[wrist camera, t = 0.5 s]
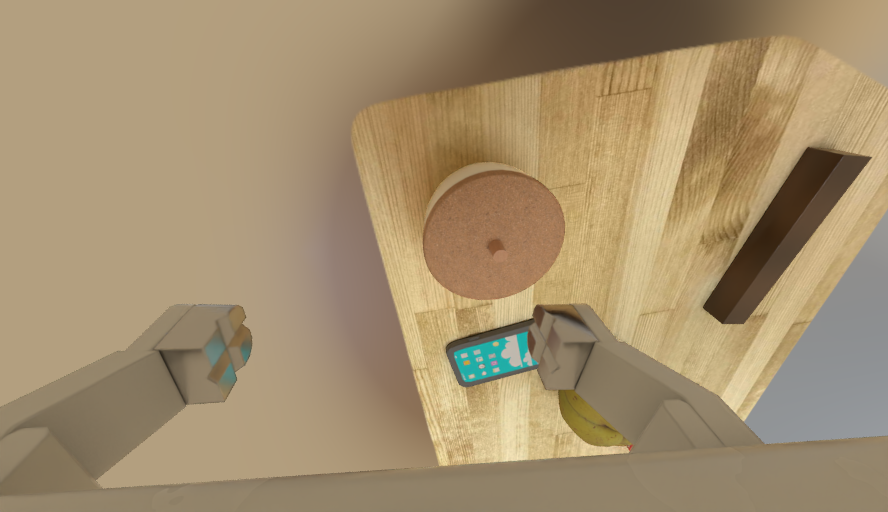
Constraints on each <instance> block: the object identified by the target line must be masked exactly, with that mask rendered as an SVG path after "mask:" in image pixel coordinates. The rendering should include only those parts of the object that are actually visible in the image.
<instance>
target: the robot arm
mask: <svg viewBox="0 0 888 512" xmlns="http://www.w3.org/2000/svg"><path fill="white" fill-rule="evenodd" d="M532 316H533V318H534V320H535V322H534V323H533V324H532V325H531V326H529V329H528V334H527V345H528V350H529V353H530V355H531V358H532V359H533V360H535V361H536V362H537V363H539V366H538V369H537V371H538V374H539V376H540V378H541V380H542V382H543V385H544V387H545V389H546V390H575V392H576V393H577V394H578V395H579V396H580V397H581V398H583V399H584V400H585V401H586V402H587V403H588V404H589V405H590V406H591V407H592V408H593V409H594V410H596V411H597V412H598V413H599V414H600V415H601V416H602V417H603V418H604V419H605V420H606V421H608V422H609V423H610V424H611V425H612V426H613V427H614V428H615V429H616V430H617V431H618V432H620V433H621V434H622V435H623V436H624V437H625V438H626V439H627V440H628V441H629V442H630V443H632V444H633V445H634V446H633V447H632V449H631V451H630V452H629V453H626V454H611V455H596V456H581V457H566V458H551V459H537V460H522V461H508V462H493V463H478V464H464V465H449V466H435V467H420V468H405V469H391V470H376V471H360V472H345V473H331V474H316V475H301V476H286V477H271V478H256V479H242V480H227V481H213V482H197V483H182V484H168V485H152V486H137V487H122V488H107V489H103V488H102V487H101V486H100V485H99V484H98V482H97V481H96V480H97V479H98V478H99V477H100V476H102V475H103V474H104V473H105V472H106V471H108V470H109V469H110V468H111V467H113V466H114V465H115V464H116V463H117V462H119V461H120V460H121V459H122V458H124V457H125V456H126V455H127V454H129V453H130V452H131V451H132V450H133V449H135V448H136V447H137V446H138V445H139V444H141V443H142V442H143V441H145V440H146V439H147V438H148V437H149V436H151V435H152V434H153V433H154V432H156V431H157V430H158V429H159V428H161V427H162V426H163V425H164V424H165V423H167V422H168V421H169V420H170V419H172V418H173V417H174V416H175V415H177V414H178V413H179V412H180V411H181V410H183V409H184V408H185V407H186V405H187V404H204V403H219V402H225V400H226V399H227V397H228V395H229V393H230V391H231V390H232V388H233V386H234V384H235V383H236V381H237V377H236V374H235V372H236V371H238V370H239V369H240V368H242V367H243V366H245V364H246V362H247V360H248V359H249V357H250V353H251V349H252V336H251V332H250V330H249V329H248V328H247V327H245V326H244V325H243V324H242V323H243V321H244V320H245V318H246V315H245V312H244V309H243V307H241V306H239V305H207V304H203V305H202V304H198V305H193V304H177V305H174V306H171V307H169V308H168V309H167V310H166V311H165V312H164V313H163V314H162V315H161V316H160V317H159V318H158V319H157V320H156V321H155V322H154V323H153V324H152V325H151V326H150V327H149V328H148V329H147V330H146V331H145V332H144V333H143V334H142V335H141V336H140V337H139V338H138V339H137V340H136V341H134V343H133V344H131V345H130V346H129V347H128V349H126V350H125V351H117V352H114V353H112V354H110V355H108V356H106V357H104V358H102V359H100V360H98V361H96V362H93V363H91V364H89V365H87V366H85V367H83V368H81V369H79V370H77V371H75V372H73V373H70V374H68V375H66V376H64V377H62V378H60V379H58V380H56V381H54V382H52V383H50V384H48V385H45V386H43V387H41V388H39V389H37V390H35V391H33V392H31V393H29V394H27V395H25V396H23V397H20V398H18V399H16V400H14V401H12V402H10V403H8V404H6V405H4V406H2V407H0V512H888V436H877V437H863V438H848V439H835V440H819V441H806V442H789V443H775V444H764V443H763V442H762V441H761V440H760V439H759V438H758V436H757V435H756V434H755V433H754V432H753V431H752V430H751V429H750V428H749V427H748V426H747V425H746V424H745V423H744V422H743V421H742V420H741V419H740V418H739V417H738V416H737V415H736V414H735V413H734V412H733V411H732V409H731V408H730V407H729V406H728V405H727V404H726V403H725V402H724V401H723V400H722V399H721V398H720V397H719V396H718V395H716V394H714V393H712V392H711V391H709V390H707V389H705V388H704V387H702V386H700V385H698V384H697V383H695V382H693V381H691V380H690V379H688V378H686V377H684V376H683V375H681V374H679V373H677V372H675V371H674V370H672V369H670V368H668V367H667V366H665V365H663V364H661V363H660V362H658V361H656V360H654V359H653V358H651V357H649V356H647V355H646V354H644V353H642V352H640V351H639V350H637V349H635V348H633V347H632V346H630V345H628V344H626V343H625V342H618V341H617V340H616V338H615V337H614V336H613V334H612V333H611V332H610V331H609V329H608V328H607V327H606V326H605V324H604V323H603V322H602V321H601V319H600V318H599V317H598V316H597V314H596V313H595V312H594V311H593V309H592V308H591V307H590V306H589V305H587V304H569V305H568V304H558V305H536V307H535V308H534V311H533V315H532Z"/></svg>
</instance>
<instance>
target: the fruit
mask: <svg viewBox="0 0 888 512" xmlns="http://www.w3.org/2000/svg"><path fill="white" fill-rule="evenodd" d="M558 395H559V406H560V411H561V414H562V417H563V419H564V420H565V421H566V423H567V424H568V425H569V427H570V428H571V429H572V430H573V431H574V432H575V433H576V434H577V435H578V436H579V437H580V438H581V439H582V440H584V441H585V442H586V443H588V444H591V445H594V446H605V447H609V446H626V445H633V444H632V443H630V442H629V441H628V440H627V439H626V438H625V437H624V436H623V435H622V434H621V433H620V432H618V431H617V430H616V429H615V428H614V427H613V426H612V425H611V424H610V423H609V422H608V421H606V420H605V419H604V418H603V417H602V416H601V415H600V414H599V413H598V412H597V411H596V410H594V409H593V408H592V407H591V406H590V405H589V404H588V403H587V402H586V401H585V400H584V399H583V398H581V397H580V396H579V395H578V394H577V393H576V392H575V390H559V392H558Z"/></svg>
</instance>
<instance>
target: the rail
mask: <svg viewBox="0 0 888 512" xmlns="http://www.w3.org/2000/svg"><path fill="white" fill-rule="evenodd" d="M871 158H872V157H869V156H864V155H859V154H854V153H849V152H844V151H840V150H835V149H823V148H812V147H808V149H807V150H806V152H805V153H804V155H803V156H802V158H801V159H800V161H799V162H798V164H797V165H796V167H795V168H794V170H793V171H792V173H791V174H790V176H789V177H788V179H787V180H786V182H785V184H784V185H783V187H782V188H781V190H780V191H779V193H778V194H777V196H776V197H775V199H774V200H773V202H772V203H771V205H770V206H769V208H768V209H767V211H766V212H765V214H764V215H763V217H762V219H761V220H760V222H759V223H758V225H757V226H756V228H755V229H754V231H753V232H752V234H751V235H750V237H749V238H748V240H747V241H746V243H745V244H744V246H743V247H742V249H741V250H740V252H739V254H738V255H737V257H736V258H735V260H734V261H733V263H732V264H731V266H730V267H729V269H728V270H727V272H726V273H725V275H724V276H723V278H722V279H721V281H720V282H719V284H718V285H717V287H716V289H715V290H714V292H713V293H712V295H711V296H710V298H709V299H708V301H707V302H706V304H705V305H704V307H703V308H704V309H705V310H706V311H707V312H709V313H710V314H711V315H712V316H713V317H715V318H716V319H717V320H718V321H719V322H721V323H722V324H744V323H745V322H746V320H747V319H748V318H749V317H750V315H751V314H752V313H753V311H754V310H755V309H756V307H757V306H758V305H759V304H760V302H761V301H762V300H763V298H764V297H765V296H766V294H767V293H768V292H769V291H770V289H771V288H772V287H773V285H774V284H775V283H776V281H777V280H778V279H779V278H780V276H781V275H782V274H783V272H784V271H785V270H786V268H787V267H788V266H789V265H790V263H791V262H792V261H793V259H794V258H795V257H796V255H797V254H798V253H799V252H800V250H801V249H802V248H803V246H804V245H805V244H806V242H807V241H808V240H809V239H810V237H811V236H812V235H813V233H814V232H815V231H816V229H817V228H818V227H819V226H820V224H821V223H822V222H823V220H824V219H825V218H826V216H827V215H828V214H829V212H830V211H831V210H832V209H833V207H834V206H835V205H836V203H837V202H838V201H839V199H840V198H841V197H842V196H843V194H844V193H845V192H846V190H847V189H848V188H849V186H850V185H851V184H852V183H853V181H854V180H855V179H856V177H857V176H858V175H859V173H860V172H861V171H862V170H863V168H864V167H865V166H866V164H867V163H868V162H869V160H870V159H871Z"/></svg>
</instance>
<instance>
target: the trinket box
mask: <svg viewBox="0 0 888 512" xmlns="http://www.w3.org/2000/svg"><path fill="white" fill-rule="evenodd" d="M564 234H565V221H564V216H563V212H562V209H561V207H560V204H559V202H558V201H557V199H556V198H555V196H554V195H553V194H552V193H551V192H550V191H549V190H548V189H547V188H546V187H545V186H544V185H543V184H542V183H540V182H539V181H537V180H536V179H534V178H532V177H531V176H529V175H528V174H527V173H525V172H524V171H521V170H519V169H517V168H515V167H513V166H511V165H507V164H503V163H497V162H478V163H474V164H470V165H467V166H465V167H462V168H460V169H458V170H456V171H455V172H453V173H451V174H450V175H449V176H448V177H447V178H445V179H444V180H443V181H442V182H441V184H440V185H439V186H438V187H437V189H436V190H435V192H434V193H433V195H432V197H431V199H430V201H429V204H428V206H427V210H426V214H425V218H424V232H423V251H424V257H425V260H426V264H427V266H428V268H429V270H430V272H431V274H432V275H433V276H434V278H435V279H436V280H437V281H438V282H439V283H440V284H441V285H442V286H443V287H445V288H446V289H448V290H449V291H451V292H453V293H455V294H457V295H460V296H463V297H466V298H471V299H477V300H492V299H500V298H504V297H508V296H511V295H514V294H517V293H519V292H521V291H523V290H525V289H526V288H528V287H530V286H531V285H533V284H534V283H536V282H537V281H538V280H539V279H540V278H541V277H543V275H544V274H545V273H546V272H547V271H548V270H549V269H550V268H551V266H552V265H553V263H554V262H555V260H556V258H557V256H558V255H559V253H560V250H561V247H562V244H563V240H564Z"/></svg>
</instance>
